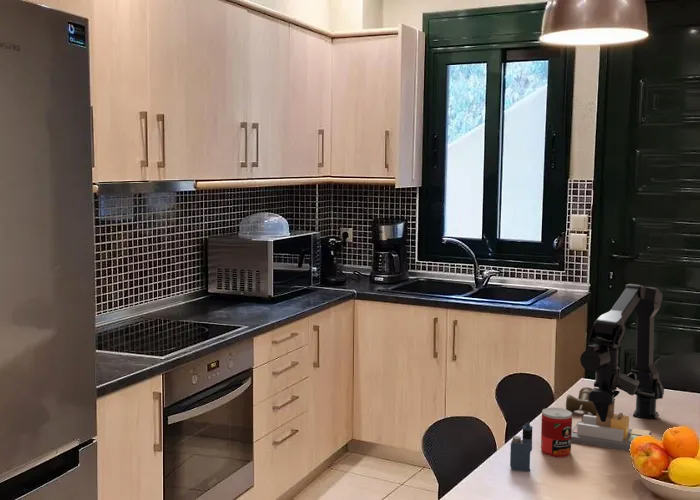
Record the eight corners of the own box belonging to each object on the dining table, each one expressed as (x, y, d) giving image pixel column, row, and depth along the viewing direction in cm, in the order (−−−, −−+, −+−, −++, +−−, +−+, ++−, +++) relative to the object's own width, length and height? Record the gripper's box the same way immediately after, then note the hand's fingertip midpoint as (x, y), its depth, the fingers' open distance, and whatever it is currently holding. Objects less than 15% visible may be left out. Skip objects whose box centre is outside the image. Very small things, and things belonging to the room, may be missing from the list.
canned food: (554, 459, 207) (556, 418, 205) (534, 449, 214) (535, 409, 212) (577, 454, 210) (578, 414, 209) (556, 445, 217) (557, 405, 216)
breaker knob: (613, 431, 224) (614, 411, 223) (628, 433, 222) (629, 413, 221) (610, 436, 219) (611, 416, 219) (625, 439, 217) (626, 418, 217)
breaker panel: (578, 426, 233) (578, 411, 232) (651, 437, 223) (652, 421, 223) (567, 441, 220) (568, 425, 220) (644, 453, 211) (645, 437, 211)
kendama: (603, 404, 255) (596, 421, 237) (572, 402, 259) (563, 418, 240) (603, 386, 255) (597, 401, 236) (572, 383, 258) (563, 399, 240)
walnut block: (598, 422, 225) (599, 398, 224) (613, 425, 223) (614, 401, 222) (595, 427, 221) (597, 402, 221) (610, 429, 220) (612, 404, 219)
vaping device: (531, 472, 198) (533, 425, 197) (509, 470, 199) (511, 423, 198) (531, 468, 201) (532, 421, 199) (510, 466, 202) (511, 420, 200)
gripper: (632, 376, 208) (630, 434, 210) (642, 360, 225) (639, 414, 227) (588, 370, 213) (586, 427, 215) (601, 355, 230) (599, 408, 232)
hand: (604, 419), depth 222 cm, fingers closed on walnut block, 4 cm apart
